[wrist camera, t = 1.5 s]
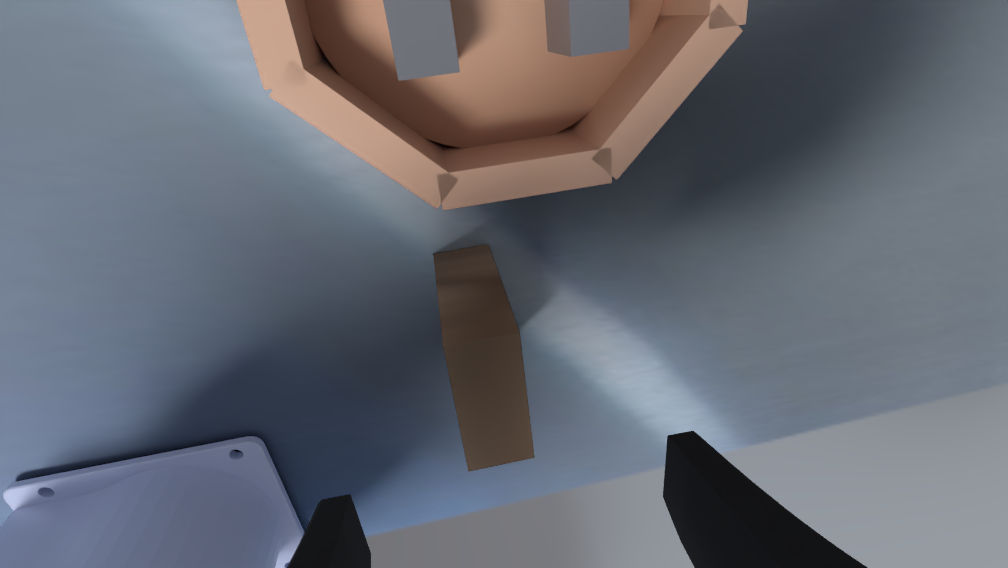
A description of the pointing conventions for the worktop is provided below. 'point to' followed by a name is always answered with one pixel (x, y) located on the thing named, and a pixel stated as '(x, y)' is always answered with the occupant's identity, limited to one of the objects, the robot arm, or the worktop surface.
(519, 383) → the brown rectangular block
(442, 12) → the tan octagonal tray
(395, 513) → the worktop surface
